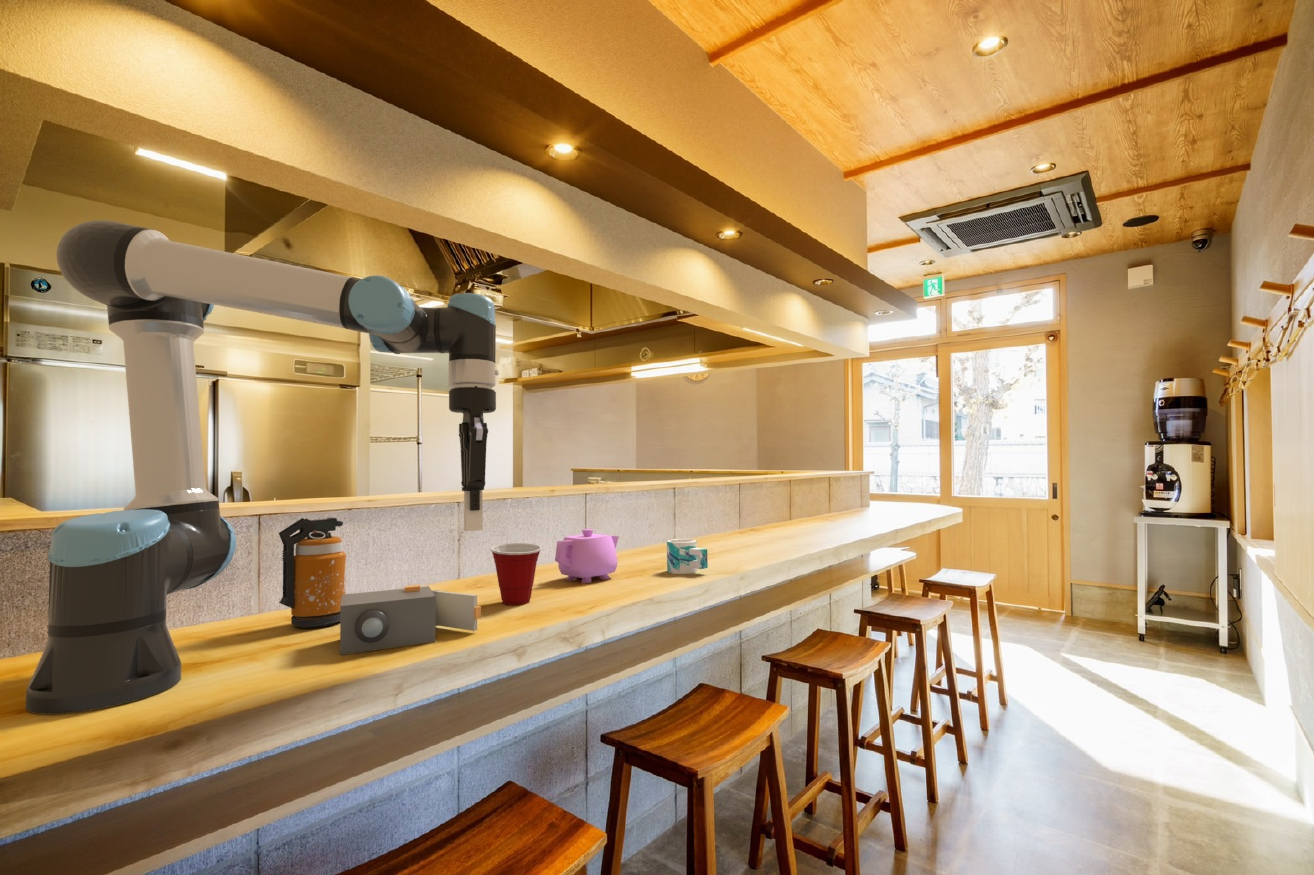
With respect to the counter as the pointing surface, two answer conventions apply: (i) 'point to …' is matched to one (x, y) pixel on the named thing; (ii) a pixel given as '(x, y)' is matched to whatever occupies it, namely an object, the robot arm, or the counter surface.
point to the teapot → (587, 556)
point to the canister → (313, 572)
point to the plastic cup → (515, 570)
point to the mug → (685, 556)
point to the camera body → (386, 619)
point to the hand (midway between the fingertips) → (473, 530)
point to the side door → (456, 610)
